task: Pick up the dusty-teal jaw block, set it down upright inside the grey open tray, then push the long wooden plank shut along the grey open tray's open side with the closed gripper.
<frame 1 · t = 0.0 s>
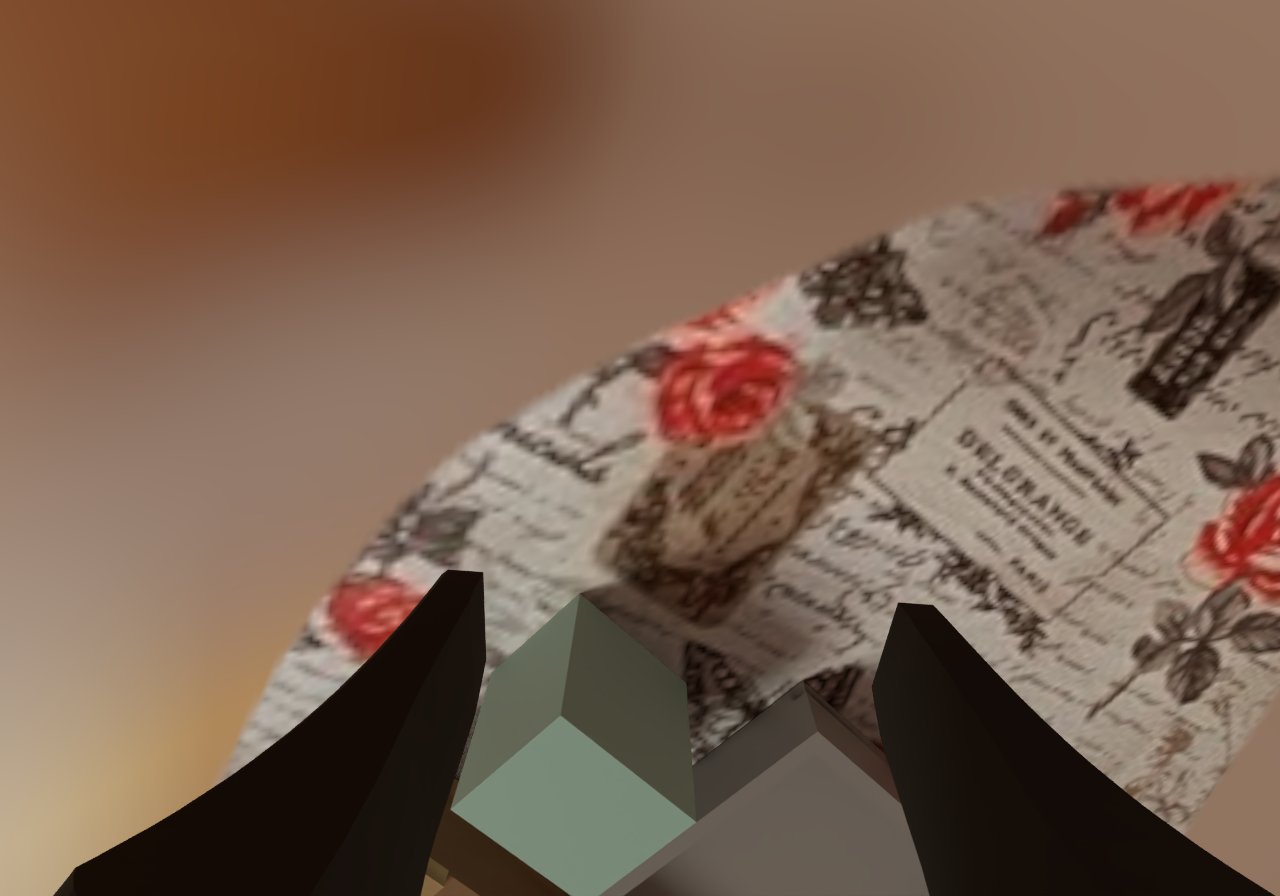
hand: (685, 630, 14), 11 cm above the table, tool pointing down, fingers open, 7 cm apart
jaw block: (589, 677, 27), on the table
grey open tray: (801, 865, 30), on the table
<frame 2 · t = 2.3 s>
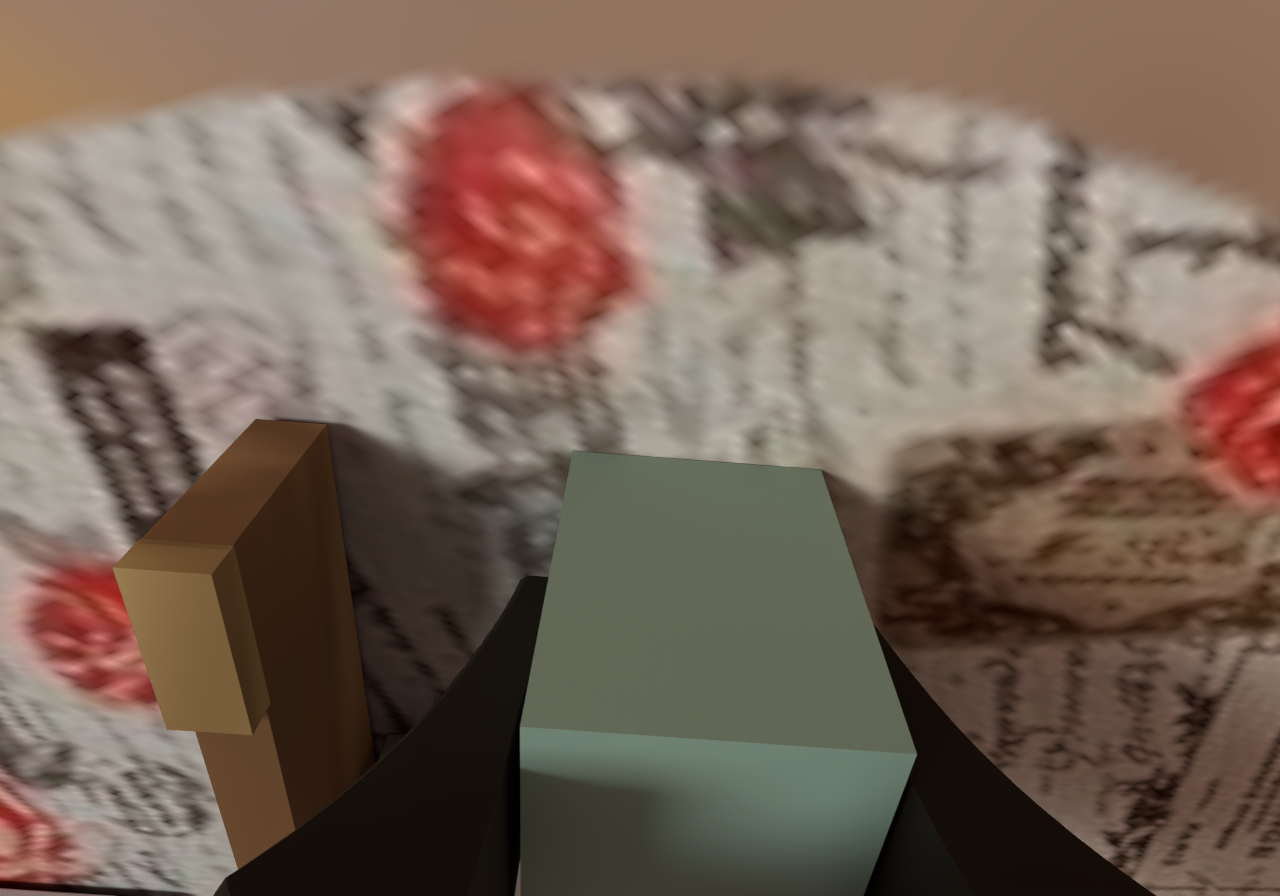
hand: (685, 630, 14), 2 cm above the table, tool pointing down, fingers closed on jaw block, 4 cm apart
jaw block: (682, 571, 15), on the table, touching gripper
long wooden plank: (308, 814, 16), point 2 cm above the table, slide at 5.0 cm
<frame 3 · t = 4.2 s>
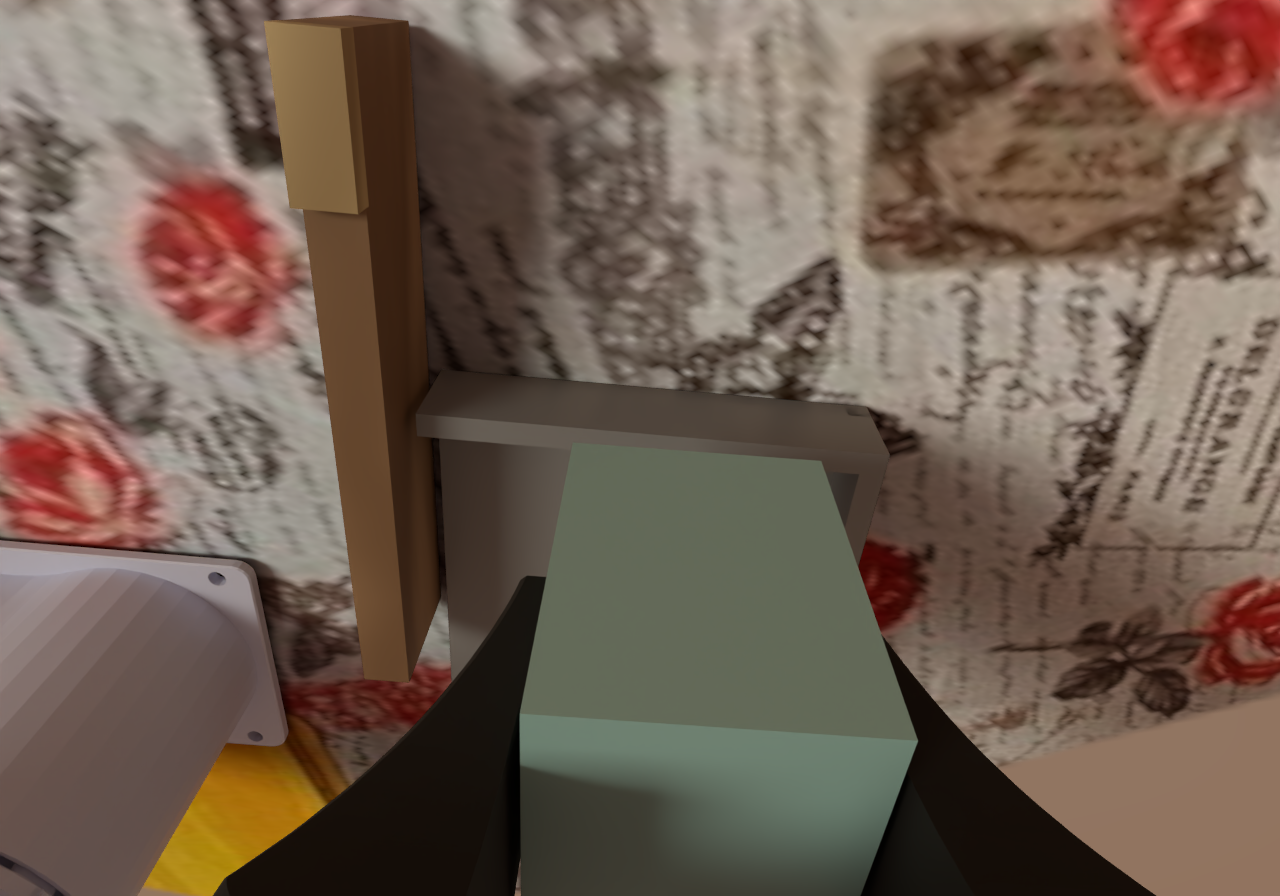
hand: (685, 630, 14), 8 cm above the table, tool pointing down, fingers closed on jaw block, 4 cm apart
jaw block: (683, 563, 15), point 7 cm above the table, touching gripper
long wooden plank: (380, 397, 18), point 2 cm above the table, slide at 5.0 cm
grey open tray: (635, 574, 24), on the table
when the fingers open (4 cm above the table, at t = 6.0 s): jaw block drops 1 cm, resting on grey open tray.
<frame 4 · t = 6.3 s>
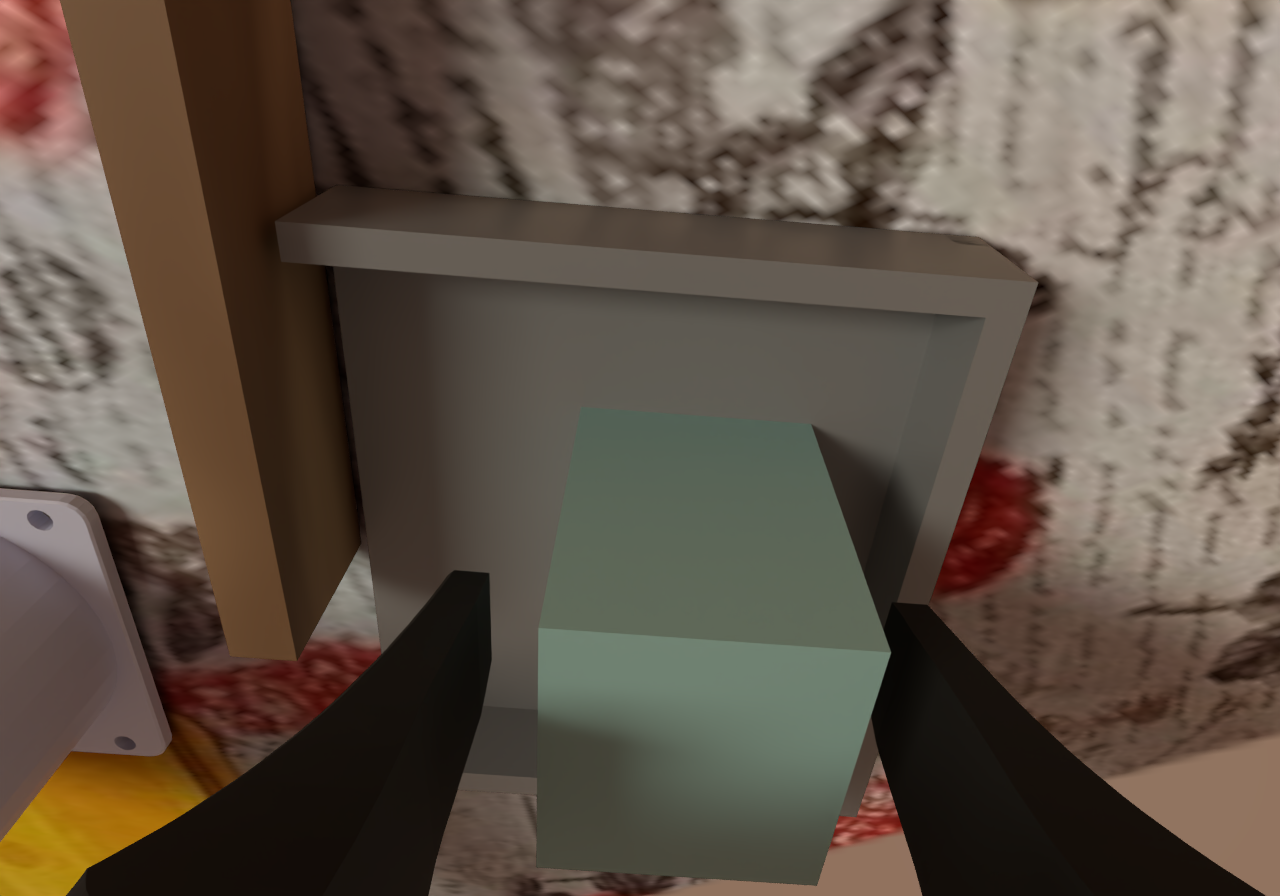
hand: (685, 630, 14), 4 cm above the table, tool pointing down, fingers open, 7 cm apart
jaw block: (683, 522, 16), point 1 cm above the table, touching grey open tray
long wooden plank: (219, 197, 11), point 2 cm above the table, slide at 5.0 cm
grey open tray: (634, 509, 17), on the table
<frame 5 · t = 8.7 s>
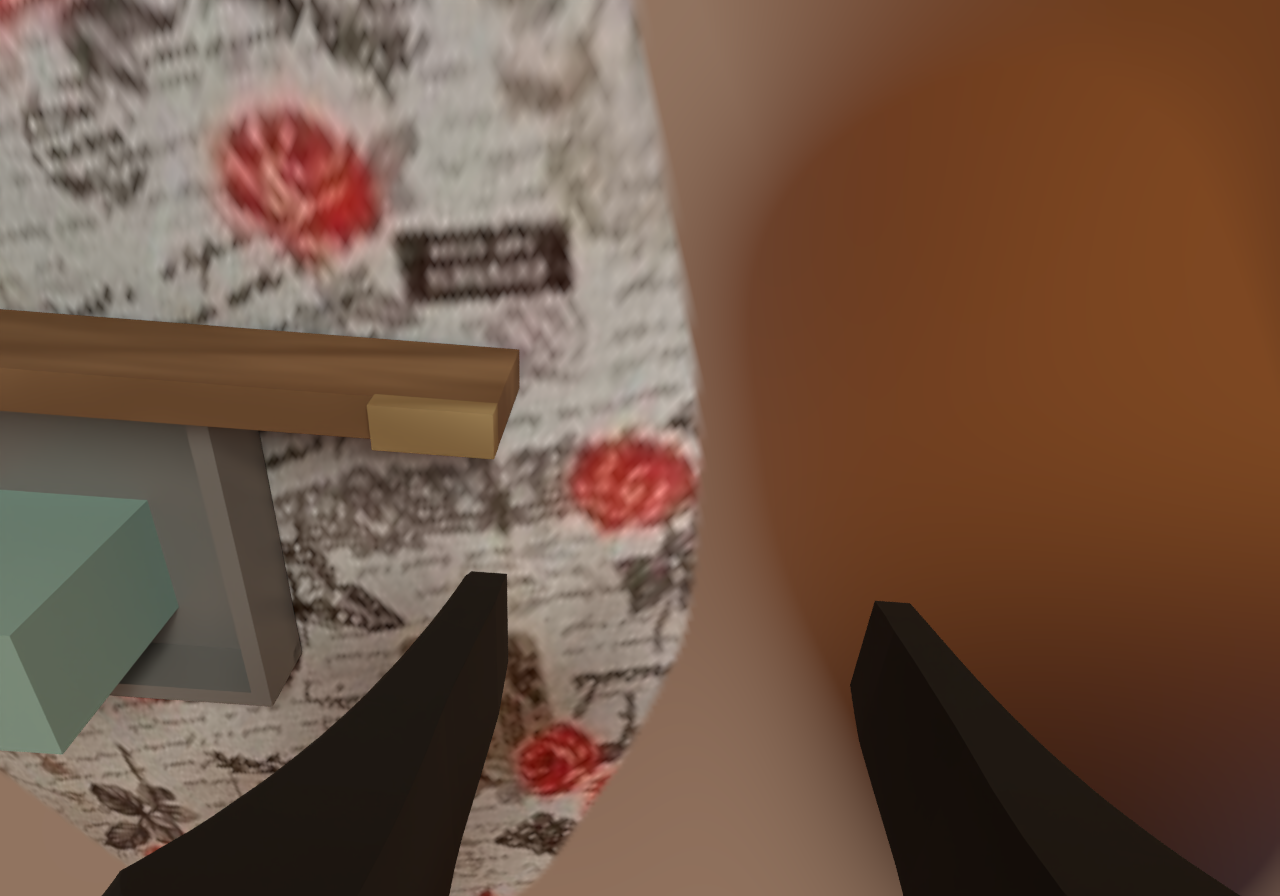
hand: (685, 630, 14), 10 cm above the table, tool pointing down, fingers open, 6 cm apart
jaw block: (86, 550, 26), point 1 cm above the table, touching grey open tray
long wooden plank: (210, 377, 21), point 2 cm above the table, slide at 5.0 cm
grey open tray: (84, 513, 26), on the table
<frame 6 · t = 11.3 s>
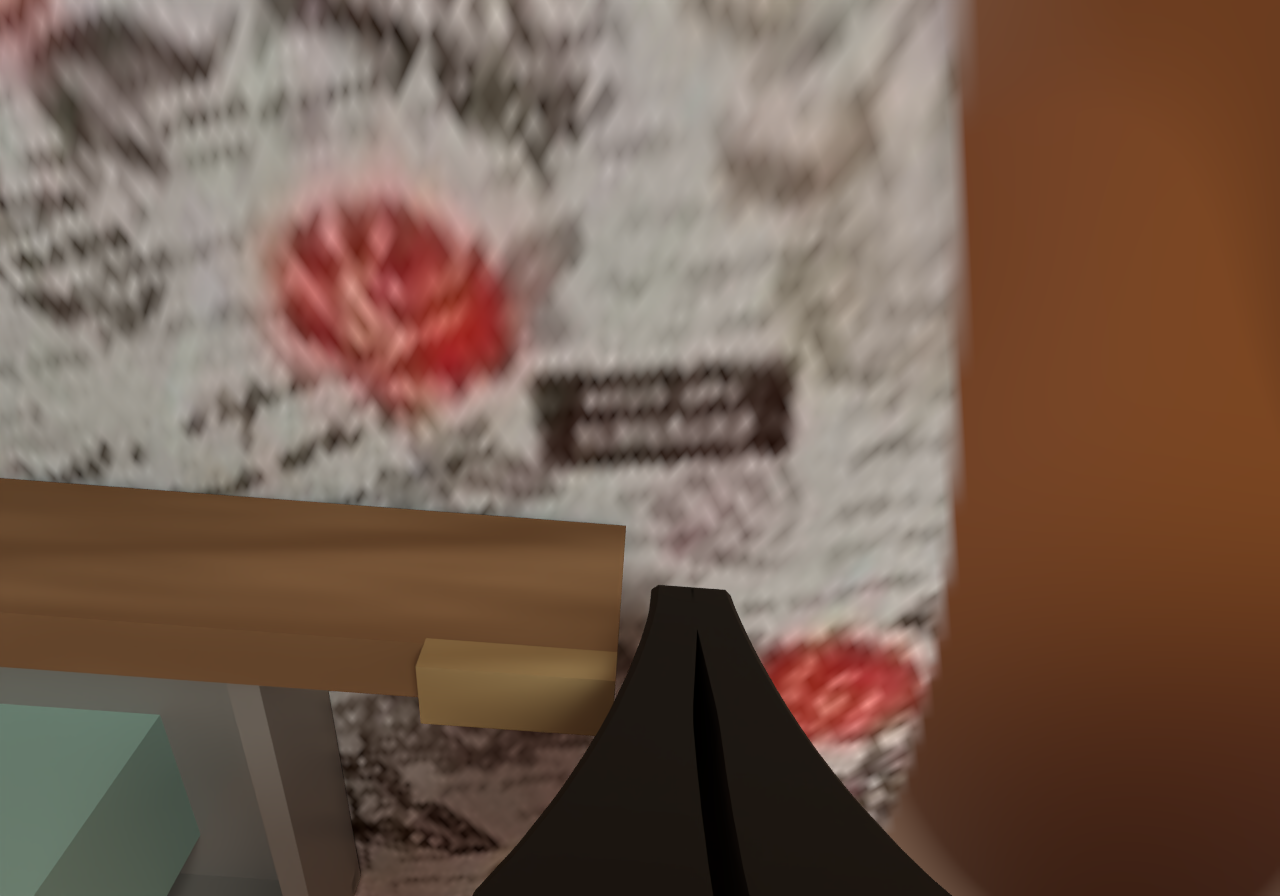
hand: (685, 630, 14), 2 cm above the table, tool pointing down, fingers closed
jaw block: (76, 770, 19), point 1 cm above the table, touching grey open tray
long wooden plank: (173, 587, 14), point 2 cm above the table, slide at 3.5 cm, touching gripper
grey open tray: (72, 721, 19), on the table
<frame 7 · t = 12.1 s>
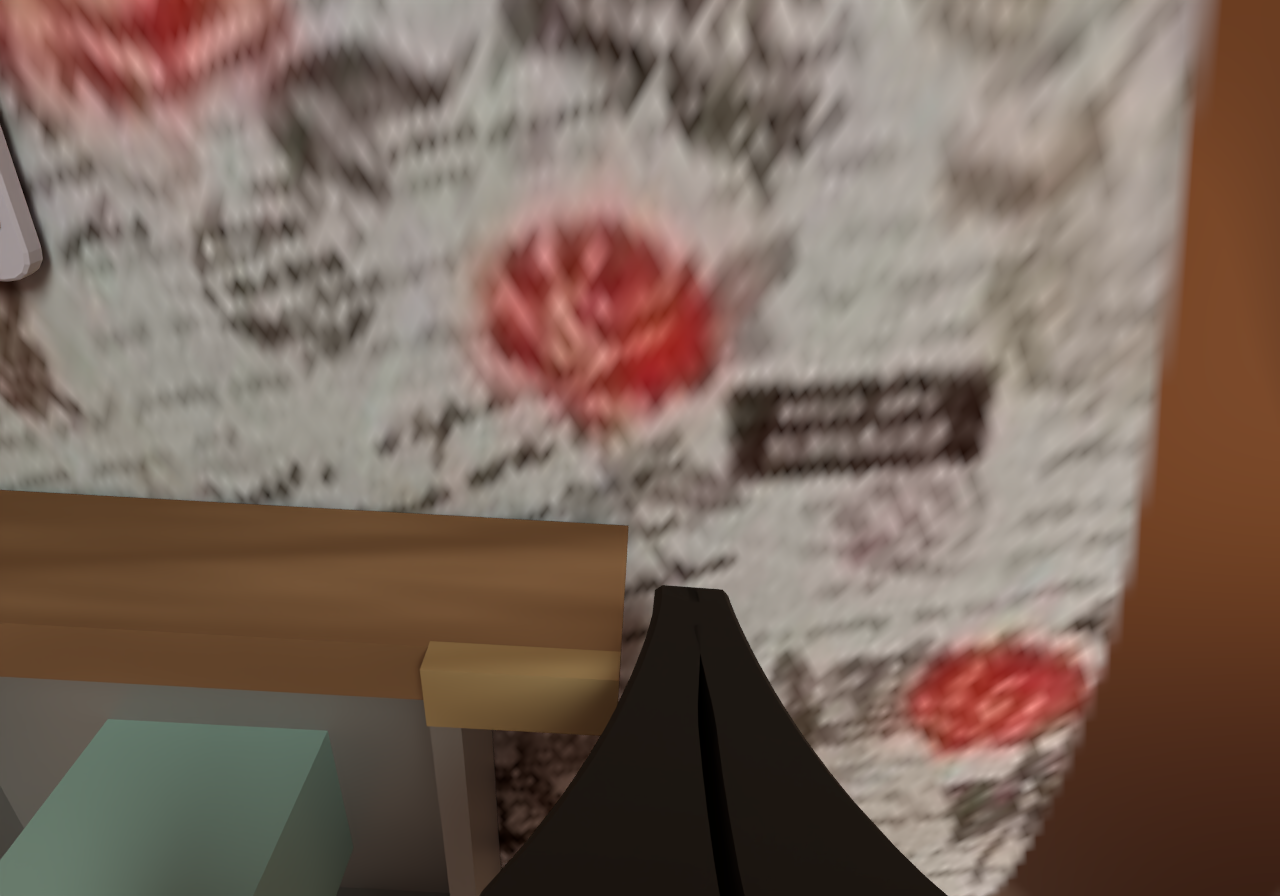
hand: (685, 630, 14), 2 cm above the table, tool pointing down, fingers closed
jaw block: (237, 787, 19), point 1 cm above the table, touching grey open tray
long wooden plank: (180, 595, 14), point 2 cm above the table, slide at 0.0 cm, touching gripper
grey open tray: (233, 737, 19), on the table
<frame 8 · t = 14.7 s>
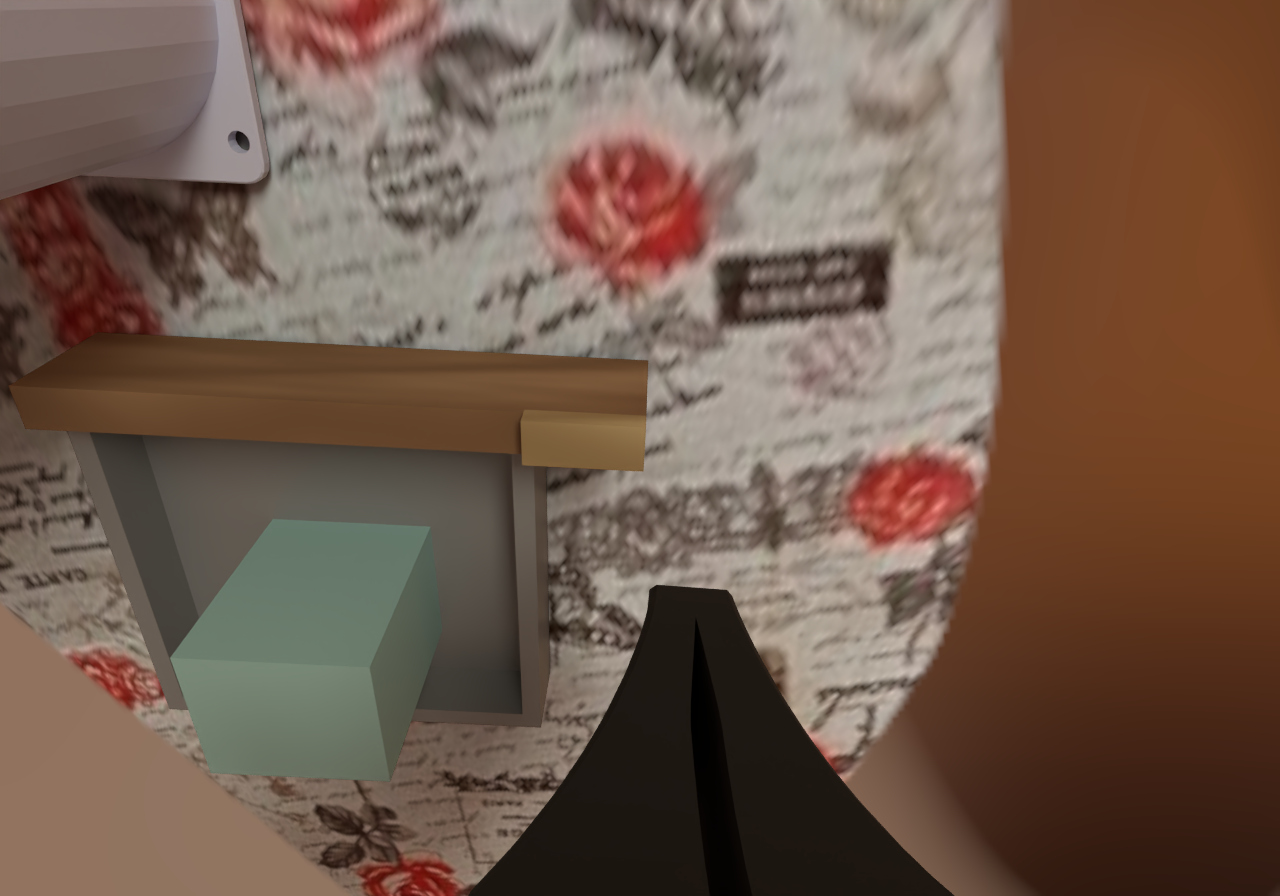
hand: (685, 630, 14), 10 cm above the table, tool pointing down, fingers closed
jaw block: (361, 577, 26), point 1 cm above the table, touching grey open tray
long wooden plank: (352, 396, 21), point 2 cm above the table, slide at 0.0 cm
grey open tray: (357, 541, 26), on the table
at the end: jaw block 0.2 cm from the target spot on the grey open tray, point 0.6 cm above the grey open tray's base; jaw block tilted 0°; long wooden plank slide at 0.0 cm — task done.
